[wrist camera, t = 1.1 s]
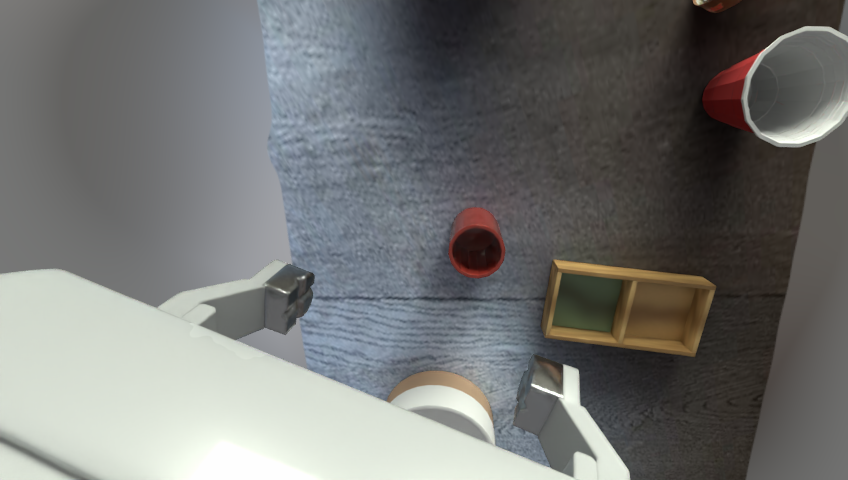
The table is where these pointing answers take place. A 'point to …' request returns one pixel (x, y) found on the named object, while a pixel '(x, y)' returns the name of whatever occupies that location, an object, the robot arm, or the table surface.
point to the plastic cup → (786, 89)
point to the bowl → (447, 402)
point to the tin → (715, 4)
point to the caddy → (626, 307)
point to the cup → (476, 243)
